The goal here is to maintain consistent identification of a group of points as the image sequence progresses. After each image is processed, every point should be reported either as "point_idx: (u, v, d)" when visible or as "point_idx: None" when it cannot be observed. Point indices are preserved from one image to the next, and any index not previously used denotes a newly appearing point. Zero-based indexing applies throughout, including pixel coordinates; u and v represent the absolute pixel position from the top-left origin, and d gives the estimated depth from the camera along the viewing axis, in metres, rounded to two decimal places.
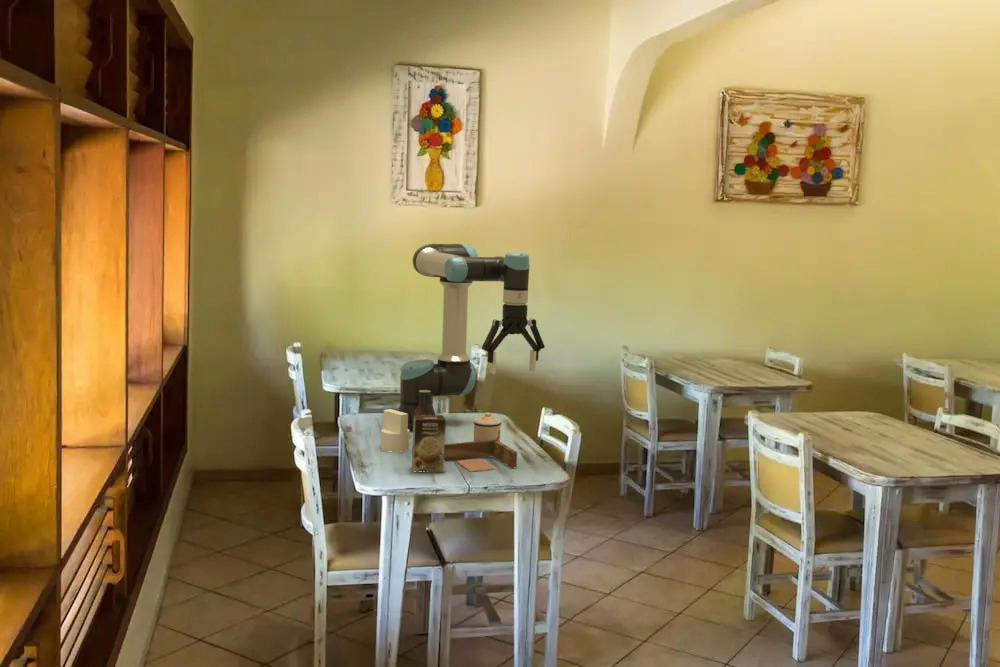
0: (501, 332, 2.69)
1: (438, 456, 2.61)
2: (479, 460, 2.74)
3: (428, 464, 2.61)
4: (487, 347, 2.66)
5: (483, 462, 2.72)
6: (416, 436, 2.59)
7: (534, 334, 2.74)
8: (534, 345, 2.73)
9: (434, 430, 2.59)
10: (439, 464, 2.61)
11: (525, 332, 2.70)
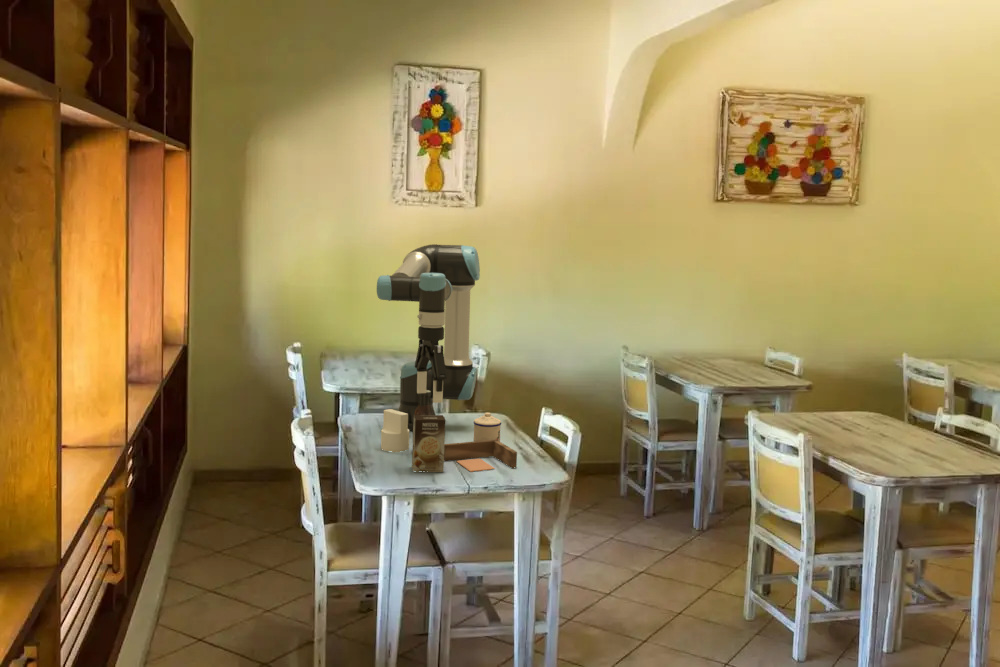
0: None
1: (438, 456, 2.61)
2: (479, 460, 2.74)
3: (428, 464, 2.61)
4: (415, 364, 2.68)
5: (483, 462, 2.72)
6: (416, 436, 2.59)
7: None
8: (434, 373, 2.53)
9: (434, 430, 2.59)
10: (439, 464, 2.61)
11: (428, 357, 2.56)
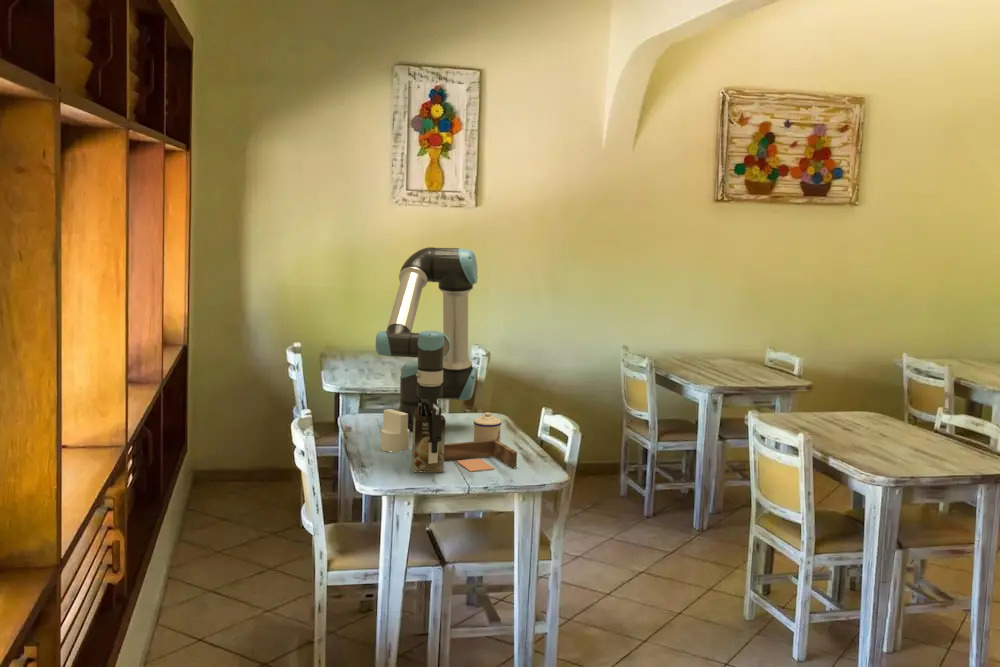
0: None
1: (438, 456, 2.61)
2: (479, 460, 2.74)
3: (428, 464, 2.61)
4: None
5: (483, 462, 2.72)
6: (416, 436, 2.59)
7: None
8: (429, 434, 2.58)
9: None
10: (439, 464, 2.61)
11: (426, 416, 2.59)
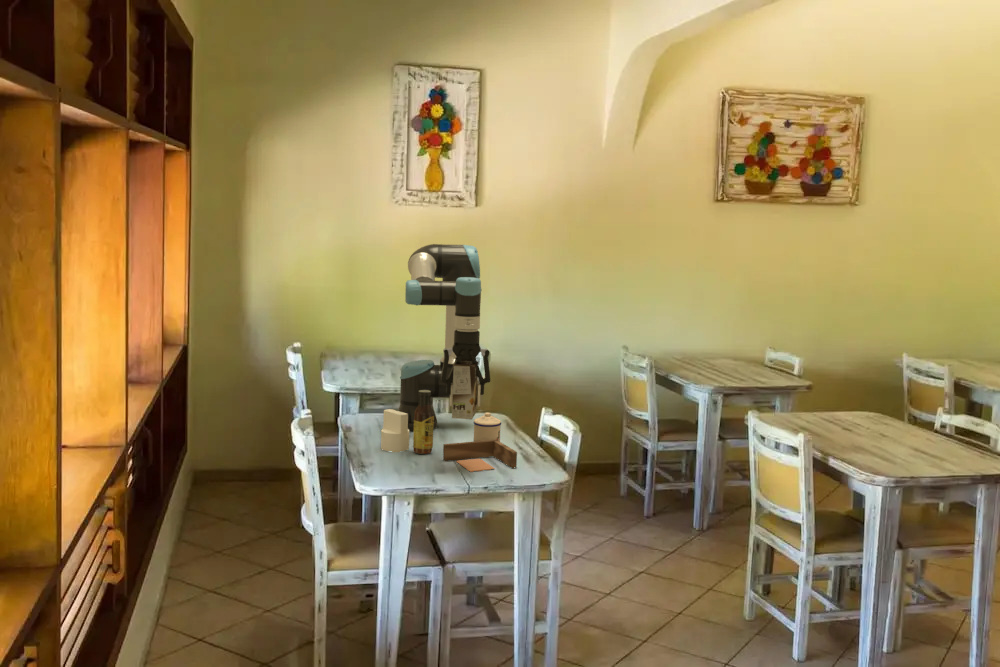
0: (455, 361, 2.63)
1: None
2: (479, 460, 2.74)
3: (474, 408, 2.65)
4: (443, 378, 2.62)
5: (483, 462, 2.72)
6: (473, 382, 2.60)
7: (484, 365, 2.65)
8: (480, 377, 2.64)
9: (476, 373, 2.65)
10: (476, 406, 2.68)
11: (474, 361, 2.62)
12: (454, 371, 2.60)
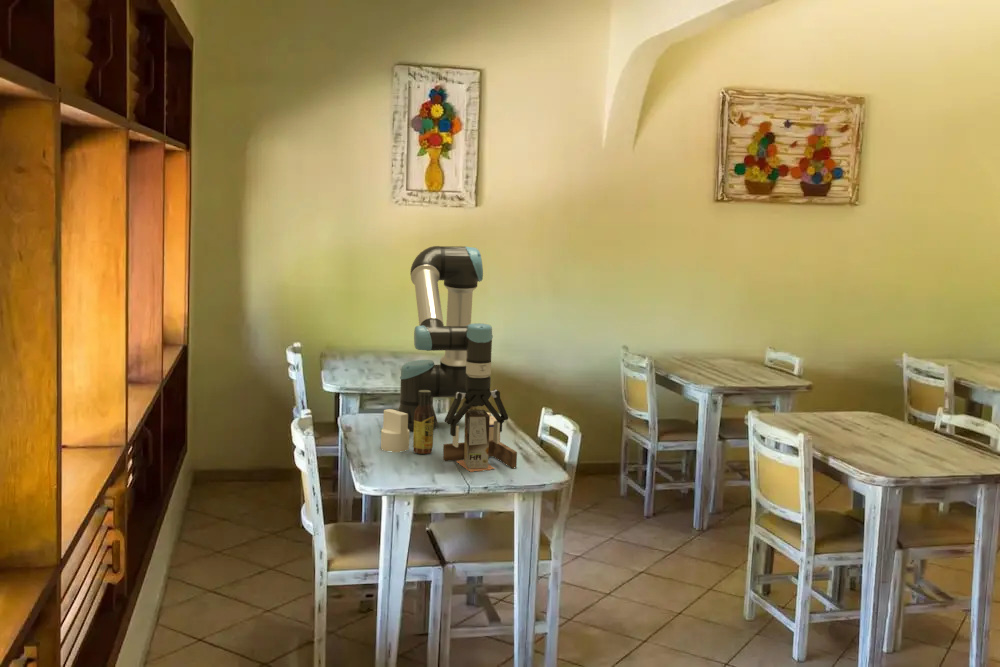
0: (464, 404, 2.66)
1: None
2: None
3: None
4: (449, 420, 2.62)
5: None
6: None
7: (498, 405, 2.70)
8: (498, 417, 2.69)
9: None
10: None
11: (488, 404, 2.67)
12: (470, 422, 2.63)
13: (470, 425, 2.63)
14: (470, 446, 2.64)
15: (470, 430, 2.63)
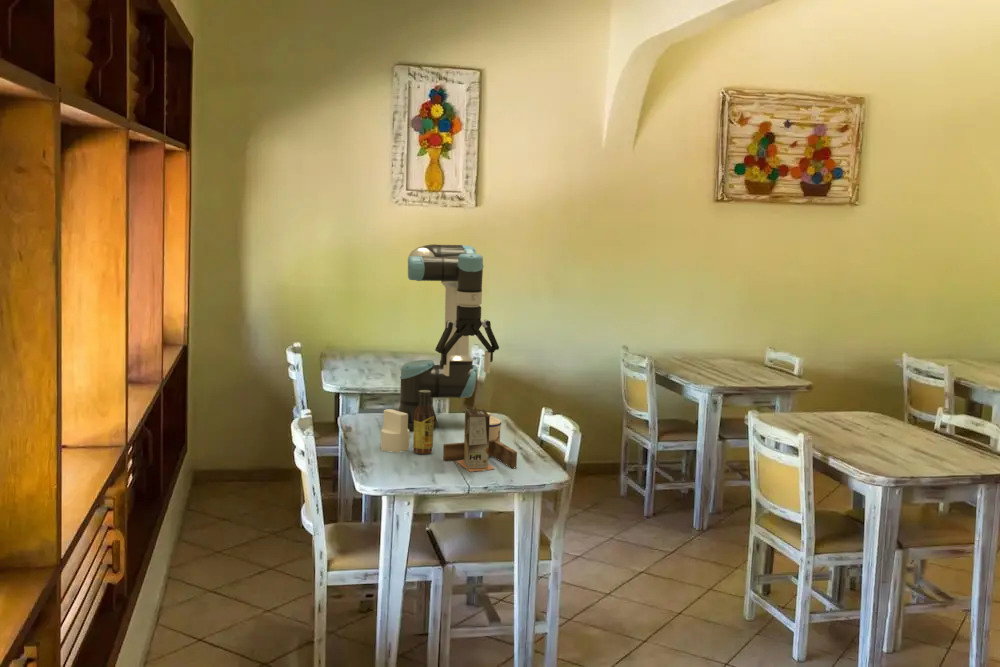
0: (455, 334, 2.68)
1: None
2: None
3: None
4: (440, 349, 2.65)
5: None
6: None
7: (488, 335, 2.72)
8: (488, 346, 2.72)
9: None
10: None
11: (479, 334, 2.69)
12: (470, 422, 2.63)
13: (470, 425, 2.63)
14: (470, 446, 2.64)
15: (470, 430, 2.63)
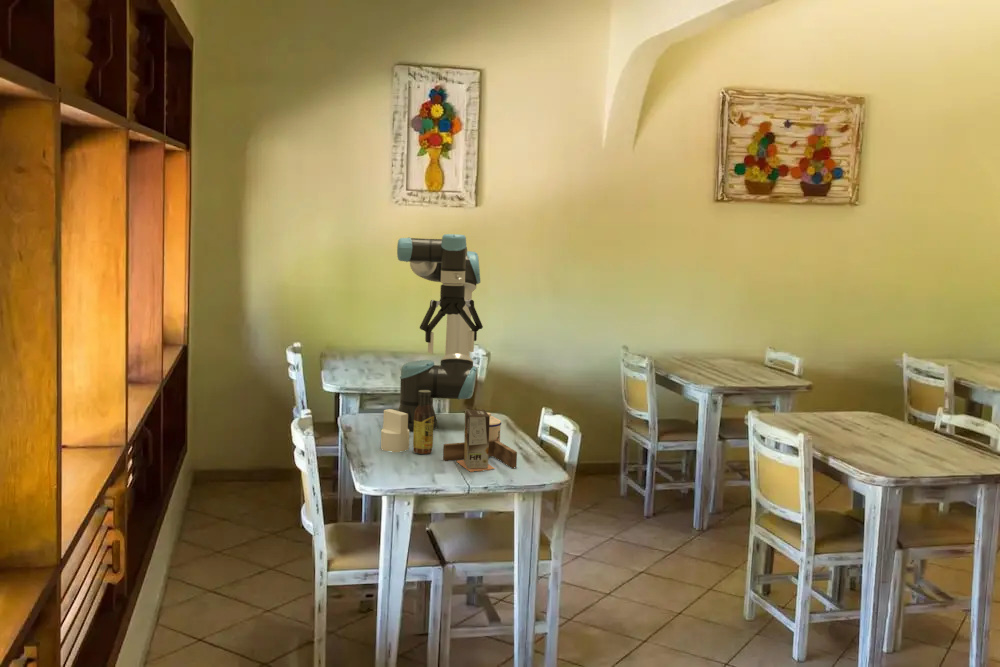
0: (439, 312, 2.74)
1: None
2: None
3: None
4: (424, 327, 2.71)
5: None
6: None
7: (472, 314, 2.78)
8: (472, 325, 2.78)
9: None
10: None
11: (463, 312, 2.75)
12: (470, 422, 2.63)
13: (470, 425, 2.63)
14: (470, 446, 2.64)
15: (470, 430, 2.63)
